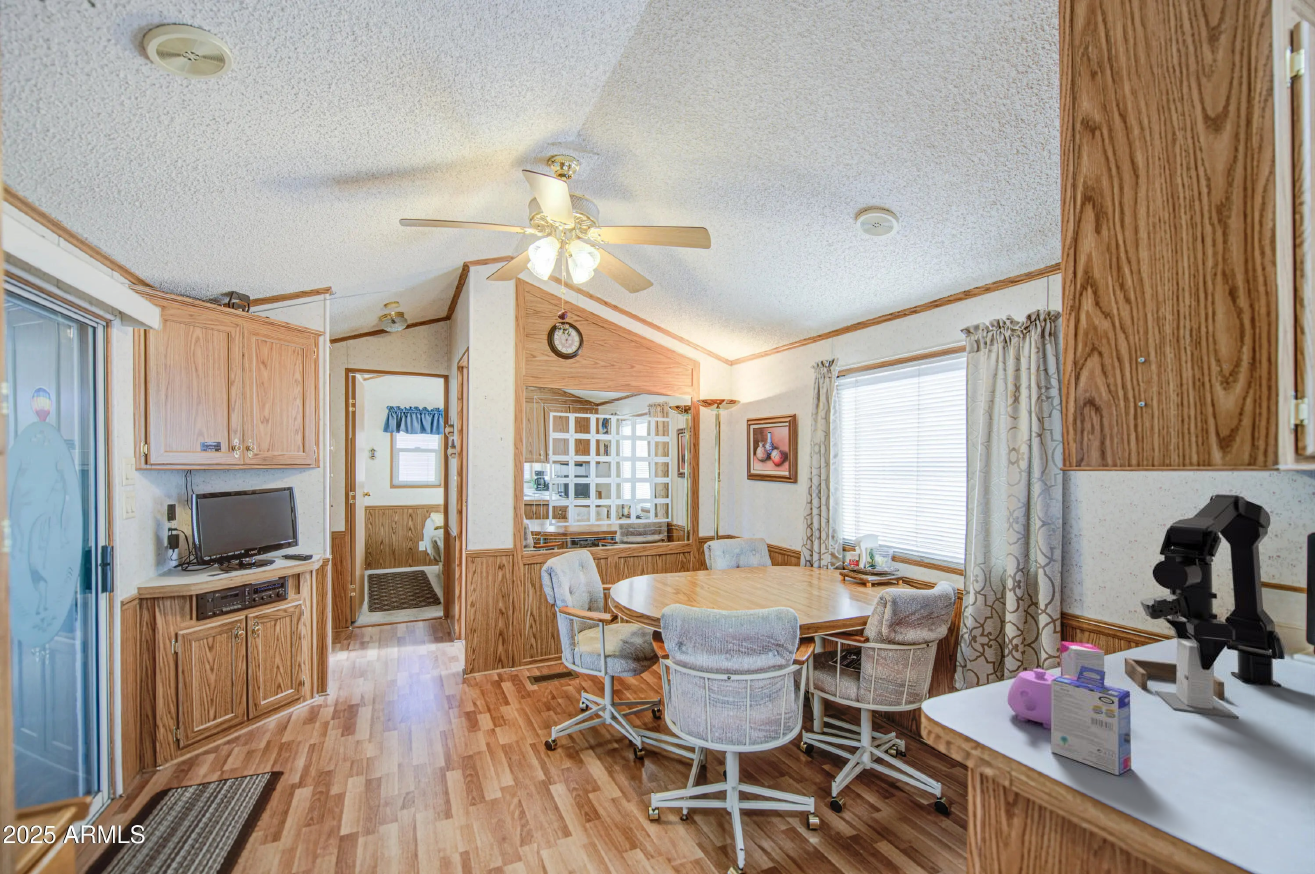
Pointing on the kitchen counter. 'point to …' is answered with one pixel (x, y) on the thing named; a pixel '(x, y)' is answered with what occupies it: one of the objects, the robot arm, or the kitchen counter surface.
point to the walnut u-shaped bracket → (1161, 674)
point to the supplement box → (1080, 659)
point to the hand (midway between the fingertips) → (1195, 662)
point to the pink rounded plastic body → (1032, 696)
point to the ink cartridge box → (1091, 721)
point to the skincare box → (1193, 676)
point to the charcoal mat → (1181, 706)
